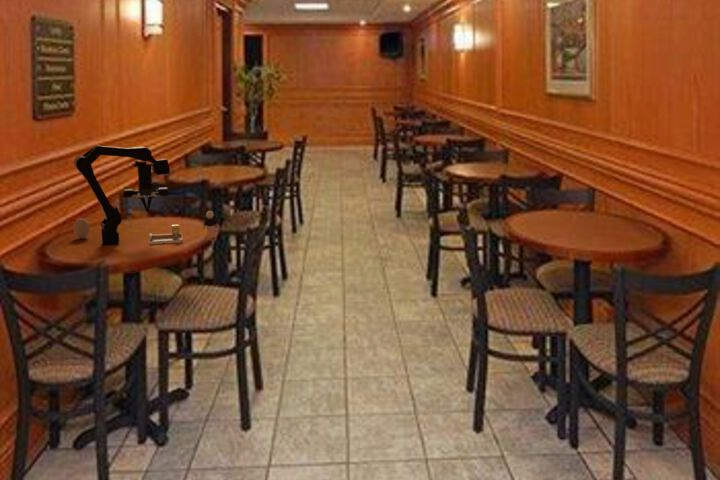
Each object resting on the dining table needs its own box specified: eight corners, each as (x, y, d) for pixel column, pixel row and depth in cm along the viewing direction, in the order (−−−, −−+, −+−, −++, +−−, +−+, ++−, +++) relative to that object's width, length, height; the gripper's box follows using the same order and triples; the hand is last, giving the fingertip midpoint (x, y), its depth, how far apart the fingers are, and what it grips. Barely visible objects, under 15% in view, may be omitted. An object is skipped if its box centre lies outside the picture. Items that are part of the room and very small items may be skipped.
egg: (93, 237, 339) (91, 217, 337) (83, 240, 333) (81, 220, 331) (81, 236, 341) (80, 216, 339) (71, 239, 335) (69, 219, 333)
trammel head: (172, 238, 327) (171, 227, 326) (172, 235, 333) (171, 224, 332) (179, 237, 328) (179, 227, 327) (179, 234, 334) (178, 224, 333)
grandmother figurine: (214, 237, 336) (213, 209, 334) (220, 238, 334) (219, 210, 331) (201, 240, 331) (199, 211, 328) (207, 241, 328) (205, 212, 325)
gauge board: (148, 244, 324) (148, 236, 324) (149, 239, 334) (148, 232, 333) (182, 242, 328) (182, 234, 327) (182, 237, 337) (181, 230, 336)
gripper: (121, 179, 319) (124, 216, 322) (167, 177, 323) (169, 214, 327) (122, 176, 329) (125, 212, 333) (167, 174, 334) (169, 209, 337)
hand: (147, 212), depth 332 cm, fingers closed
